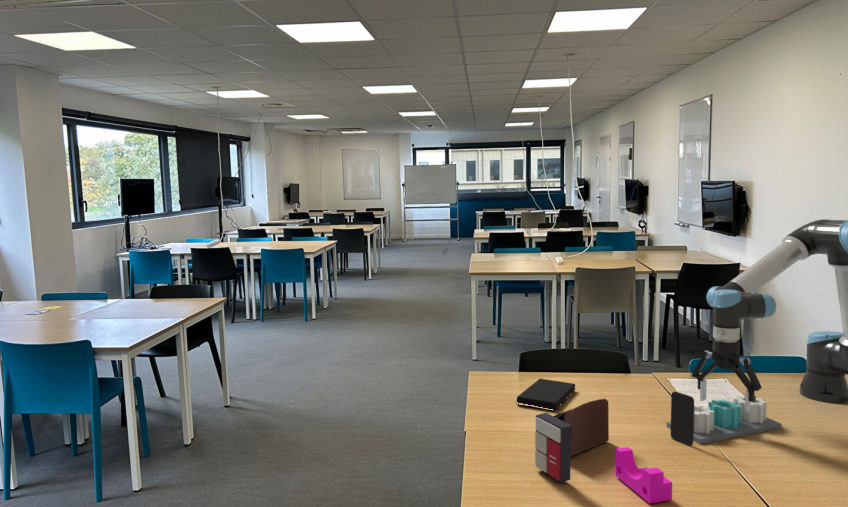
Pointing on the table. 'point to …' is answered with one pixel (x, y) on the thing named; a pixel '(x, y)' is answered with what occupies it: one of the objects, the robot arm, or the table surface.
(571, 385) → the black book
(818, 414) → the table surface
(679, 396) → the phone
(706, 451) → the table surface
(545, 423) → the calculator
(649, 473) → the magenta mounting bracket
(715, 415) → the teal gear
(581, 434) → the letter holder
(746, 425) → the gear board
